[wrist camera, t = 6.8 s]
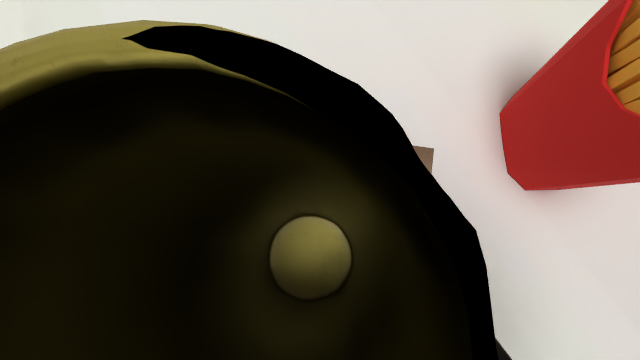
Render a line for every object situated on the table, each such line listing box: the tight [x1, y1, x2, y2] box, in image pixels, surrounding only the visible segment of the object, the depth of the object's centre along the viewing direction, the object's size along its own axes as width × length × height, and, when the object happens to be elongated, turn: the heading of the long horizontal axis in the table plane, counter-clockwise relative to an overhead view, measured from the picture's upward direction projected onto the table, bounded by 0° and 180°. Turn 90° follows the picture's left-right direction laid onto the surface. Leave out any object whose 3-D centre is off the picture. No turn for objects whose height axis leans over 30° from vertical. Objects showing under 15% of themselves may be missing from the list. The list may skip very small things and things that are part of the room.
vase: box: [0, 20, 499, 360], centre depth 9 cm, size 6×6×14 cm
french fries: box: [500, 0, 640, 190], centre depth 12 cm, size 8×4×12 cm, turn 0°
